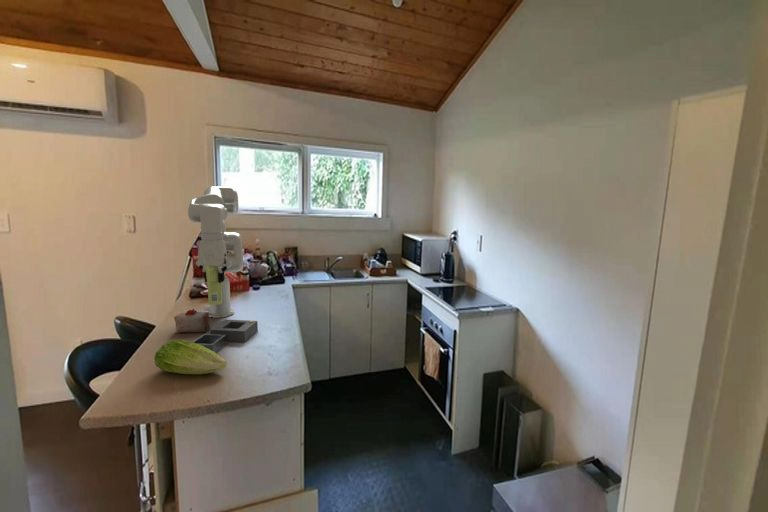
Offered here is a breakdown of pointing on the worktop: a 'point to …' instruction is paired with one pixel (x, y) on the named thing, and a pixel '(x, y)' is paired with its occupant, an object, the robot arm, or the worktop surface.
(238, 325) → the port block
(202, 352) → the lettuce
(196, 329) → the food item
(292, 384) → the worktop surface
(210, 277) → the tube
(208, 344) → the gray square frame
